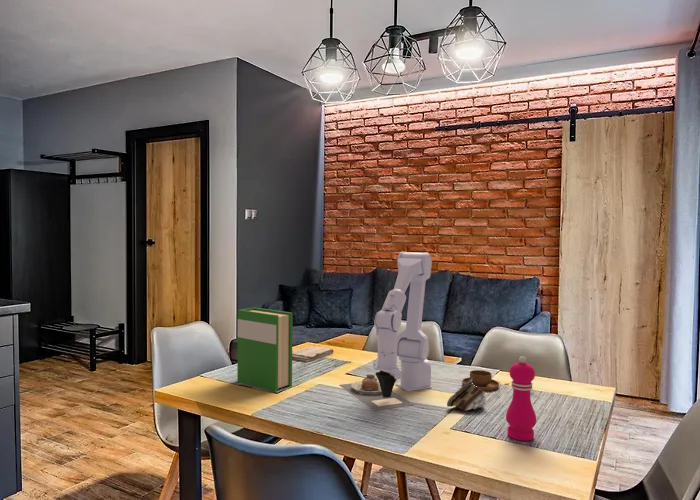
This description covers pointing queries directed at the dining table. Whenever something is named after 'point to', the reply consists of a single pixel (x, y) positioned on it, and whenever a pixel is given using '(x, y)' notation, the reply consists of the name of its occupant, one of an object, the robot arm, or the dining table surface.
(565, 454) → the dining table surface
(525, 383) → the pepper mill
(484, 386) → the place setting
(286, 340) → the hardback book
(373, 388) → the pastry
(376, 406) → the label panel
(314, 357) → the washcloth
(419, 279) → the robot arm
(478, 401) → the chocolate cake
